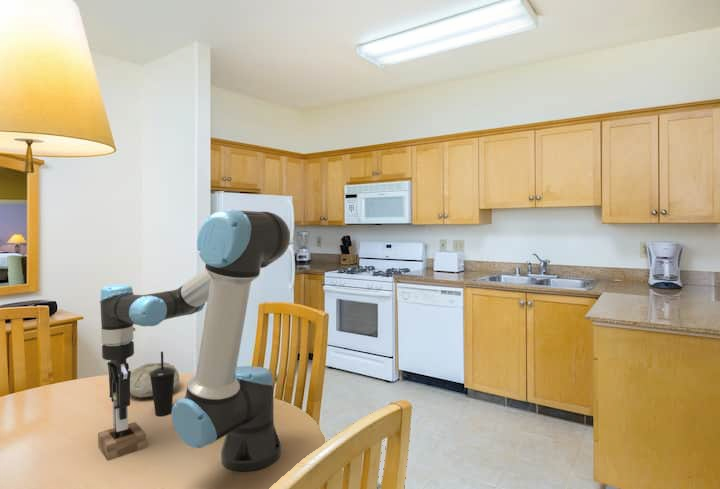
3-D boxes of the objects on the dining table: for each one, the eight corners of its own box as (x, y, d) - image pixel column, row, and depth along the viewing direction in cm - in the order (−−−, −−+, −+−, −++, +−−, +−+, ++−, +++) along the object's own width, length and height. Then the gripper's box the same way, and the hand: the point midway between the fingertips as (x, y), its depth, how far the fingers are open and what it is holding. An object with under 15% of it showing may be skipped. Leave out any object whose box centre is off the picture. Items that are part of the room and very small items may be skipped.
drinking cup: (145, 415, 139) (143, 353, 138) (165, 406, 146) (164, 347, 145) (161, 420, 136) (159, 356, 135) (181, 410, 142) (180, 350, 141)
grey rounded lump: (175, 400, 151) (174, 372, 150) (118, 405, 147) (117, 376, 146) (183, 382, 168) (182, 356, 168) (133, 386, 164) (132, 360, 164)
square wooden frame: (146, 447, 119) (145, 433, 119) (107, 460, 113) (106, 445, 112) (135, 435, 126) (135, 422, 126) (98, 447, 119) (97, 432, 119)
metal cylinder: (129, 442, 119) (127, 392, 118) (116, 446, 117) (114, 395, 116) (126, 438, 121) (124, 388, 120) (114, 442, 119) (111, 391, 119)
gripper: (142, 345, 114) (144, 433, 115) (125, 334, 126) (127, 414, 127) (109, 351, 109) (112, 443, 110) (95, 339, 121) (97, 422, 122)
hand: (120, 427), depth 119 cm, fingers closed on metal cylinder, 3 cm apart
